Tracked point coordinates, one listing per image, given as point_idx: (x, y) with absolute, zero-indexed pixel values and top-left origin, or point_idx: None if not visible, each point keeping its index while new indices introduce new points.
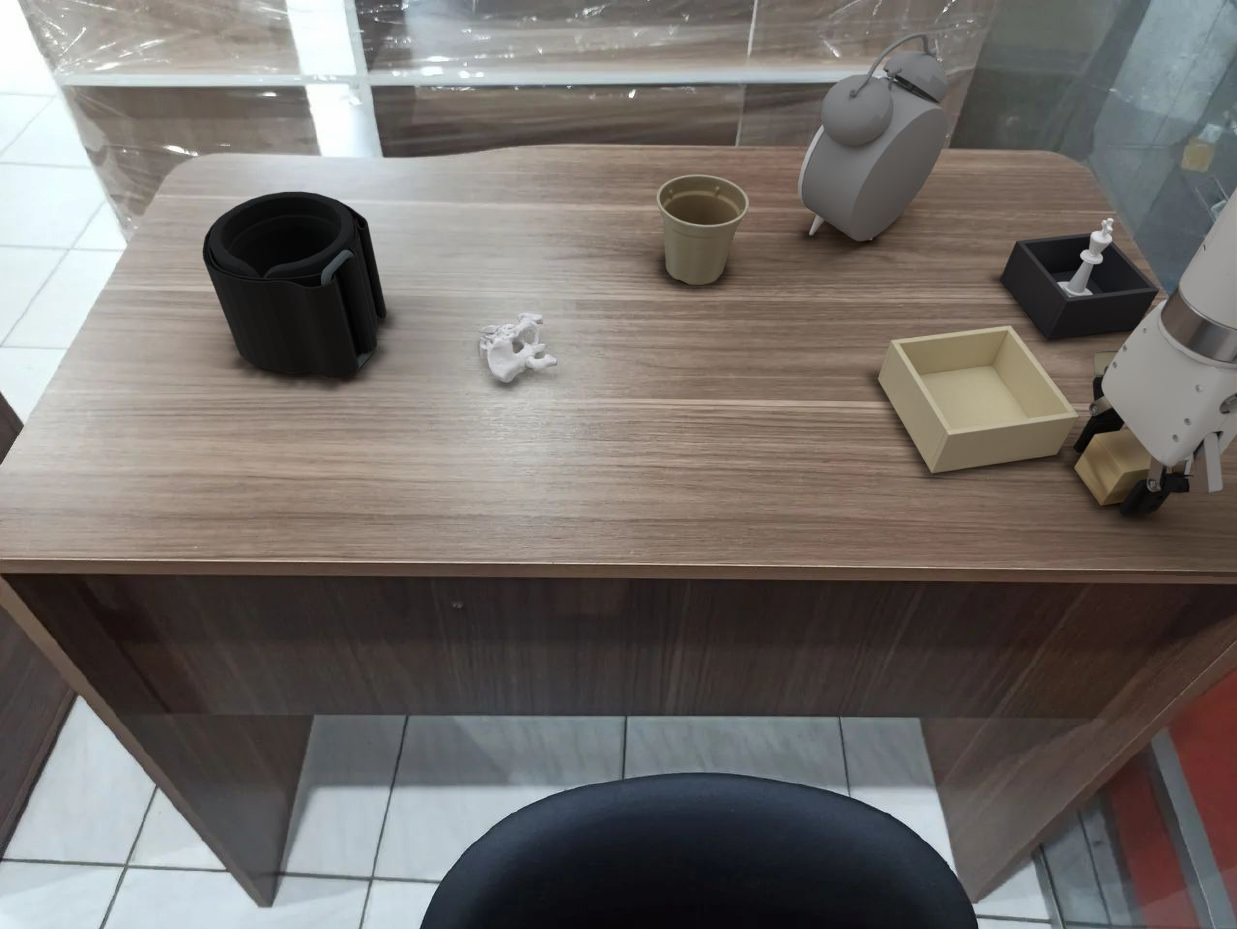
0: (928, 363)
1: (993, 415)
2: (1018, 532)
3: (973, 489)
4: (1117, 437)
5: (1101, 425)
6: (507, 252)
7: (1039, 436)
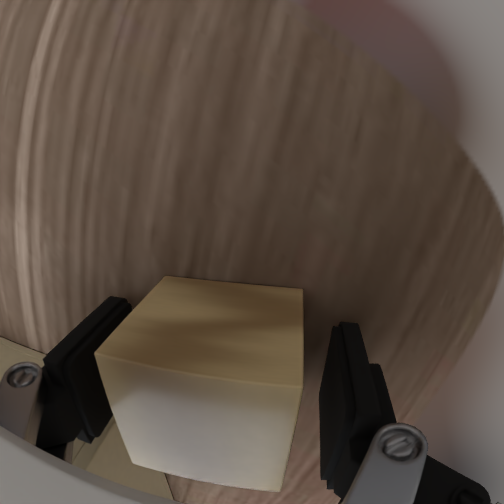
0: None
1: None
2: (294, 493)
3: (206, 493)
4: (141, 436)
5: (94, 422)
6: None
7: (127, 473)
